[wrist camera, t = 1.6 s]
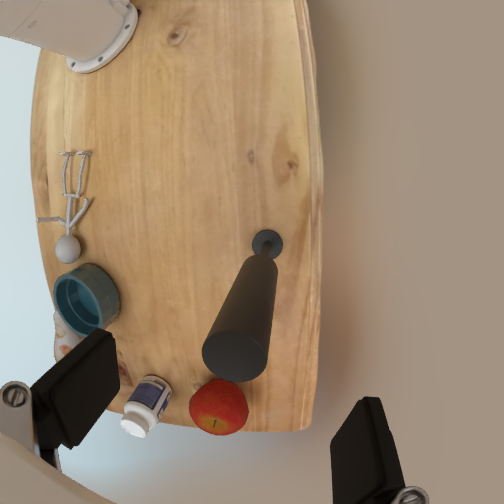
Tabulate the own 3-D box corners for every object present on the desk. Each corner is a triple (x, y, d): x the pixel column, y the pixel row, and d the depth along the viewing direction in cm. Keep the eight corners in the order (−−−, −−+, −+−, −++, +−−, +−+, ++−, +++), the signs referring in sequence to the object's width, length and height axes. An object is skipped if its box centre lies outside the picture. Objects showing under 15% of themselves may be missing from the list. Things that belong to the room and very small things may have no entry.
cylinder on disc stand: (266, 223, 29) (227, 312, 10) (288, 243, 29) (287, 360, 11) (246, 244, 30) (183, 355, 11) (268, 264, 30) (238, 395, 11)
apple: (201, 363, 35) (184, 401, 28) (257, 377, 35) (249, 419, 27) (196, 397, 38) (181, 434, 30) (246, 410, 37) (238, 449, 30)
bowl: (86, 249, 33) (63, 259, 28) (132, 295, 34) (112, 312, 29) (67, 290, 36) (47, 303, 31) (108, 332, 36) (90, 349, 32)
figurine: (73, 148, 24) (65, 276, 27) (102, 154, 30) (93, 265, 33) (42, 150, 25) (36, 265, 28) (71, 153, 31) (64, 256, 34)
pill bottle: (136, 376, 38) (108, 416, 29) (159, 371, 37) (132, 415, 28) (155, 400, 39) (132, 440, 30) (179, 396, 38) (157, 440, 29)
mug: (80, 296, 36) (65, 352, 28) (105, 331, 42) (98, 382, 35) (46, 299, 35) (30, 351, 28) (72, 332, 41) (63, 380, 34)
